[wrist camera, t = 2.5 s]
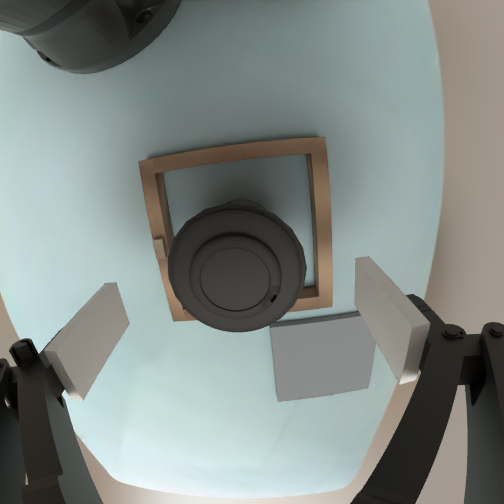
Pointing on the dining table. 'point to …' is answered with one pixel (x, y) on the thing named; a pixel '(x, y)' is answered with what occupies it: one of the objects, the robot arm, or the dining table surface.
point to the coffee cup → (236, 267)
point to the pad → (322, 356)
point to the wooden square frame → (311, 146)
